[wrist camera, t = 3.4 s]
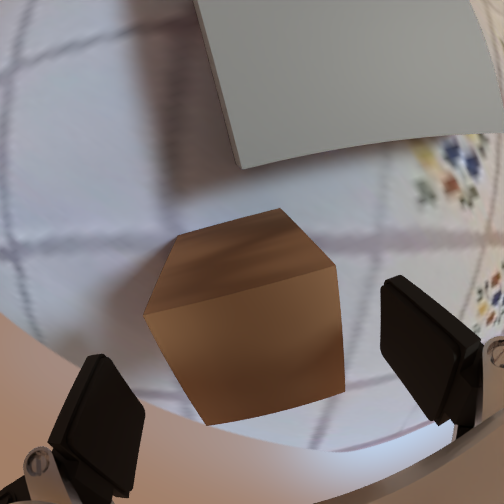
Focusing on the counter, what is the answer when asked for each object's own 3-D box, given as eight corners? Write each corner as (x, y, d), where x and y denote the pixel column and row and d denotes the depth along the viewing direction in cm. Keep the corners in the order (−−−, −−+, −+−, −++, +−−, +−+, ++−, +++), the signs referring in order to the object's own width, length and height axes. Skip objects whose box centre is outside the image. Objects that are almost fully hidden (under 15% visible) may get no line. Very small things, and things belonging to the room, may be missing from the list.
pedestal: (394, -51, 8) (423, -74, 4) (459, 129, 13) (507, 132, 9) (177, -54, 7) (169, -95, 4) (236, 164, 12) (242, 169, 9)
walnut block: (280, 207, 13) (335, 265, 7) (298, 297, 15) (345, 391, 9) (178, 235, 13) (142, 315, 7) (208, 320, 15) (206, 425, 9)
